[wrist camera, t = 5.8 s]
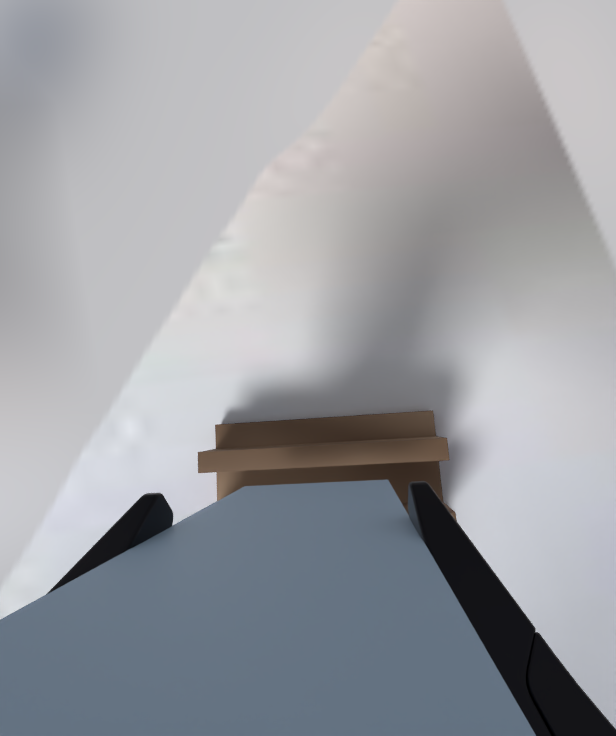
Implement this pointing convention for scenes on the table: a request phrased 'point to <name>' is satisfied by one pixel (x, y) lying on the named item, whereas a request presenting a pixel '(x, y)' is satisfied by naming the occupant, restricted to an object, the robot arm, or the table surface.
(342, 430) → the rack
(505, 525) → the table surface
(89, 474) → the table surface
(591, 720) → the robot arm
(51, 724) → the board
